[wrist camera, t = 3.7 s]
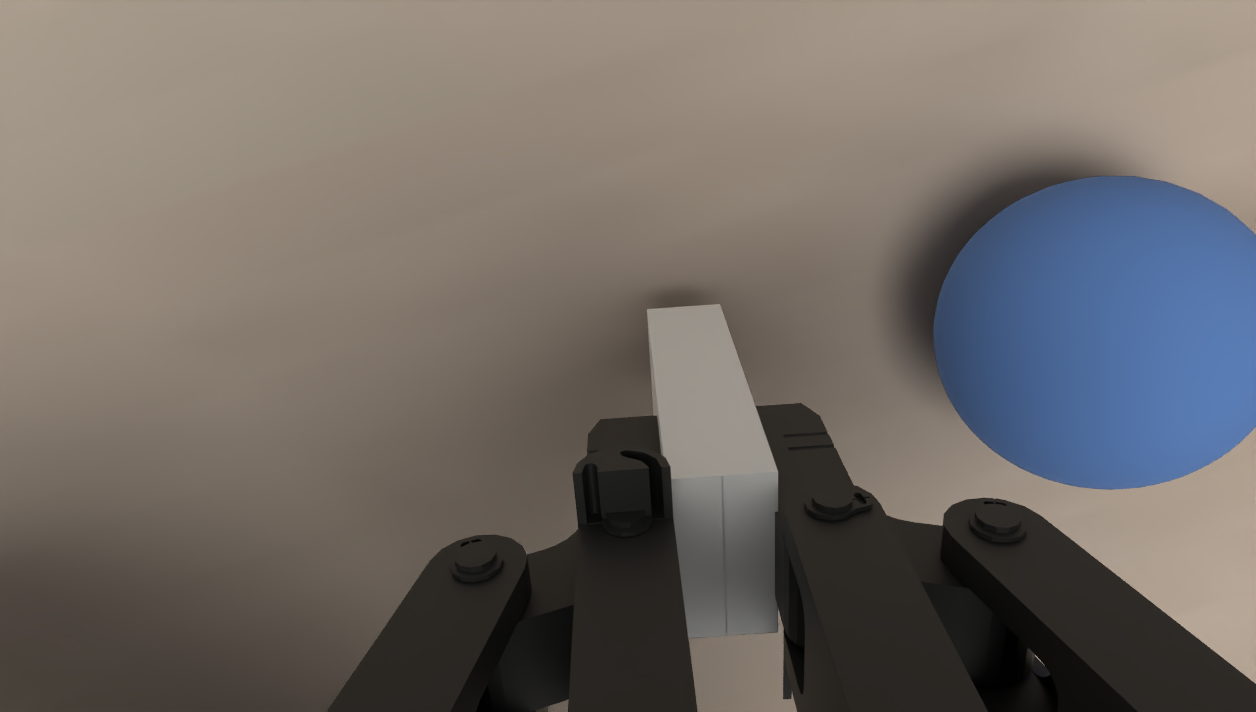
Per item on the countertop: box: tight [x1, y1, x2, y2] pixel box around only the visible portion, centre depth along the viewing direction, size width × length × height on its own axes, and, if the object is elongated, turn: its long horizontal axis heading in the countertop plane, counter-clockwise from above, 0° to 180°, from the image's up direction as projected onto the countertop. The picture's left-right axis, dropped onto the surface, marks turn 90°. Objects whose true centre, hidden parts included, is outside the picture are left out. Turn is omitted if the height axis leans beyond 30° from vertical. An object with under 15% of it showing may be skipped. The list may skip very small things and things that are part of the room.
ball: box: [933, 176, 1256, 490], centre depth 17 cm, size 6×6×6 cm
